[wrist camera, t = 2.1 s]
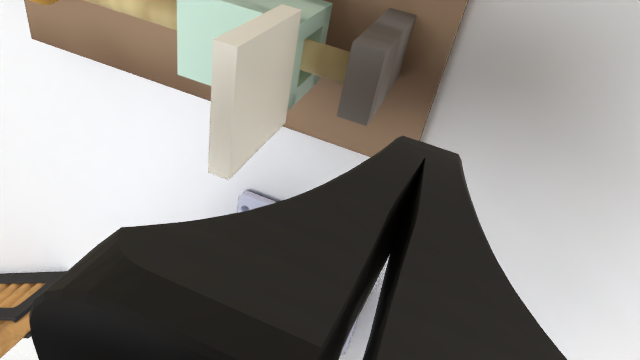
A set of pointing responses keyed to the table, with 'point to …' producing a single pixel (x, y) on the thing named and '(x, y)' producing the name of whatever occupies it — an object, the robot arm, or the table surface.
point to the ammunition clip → (20, 304)
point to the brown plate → (317, 58)
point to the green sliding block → (247, 67)
